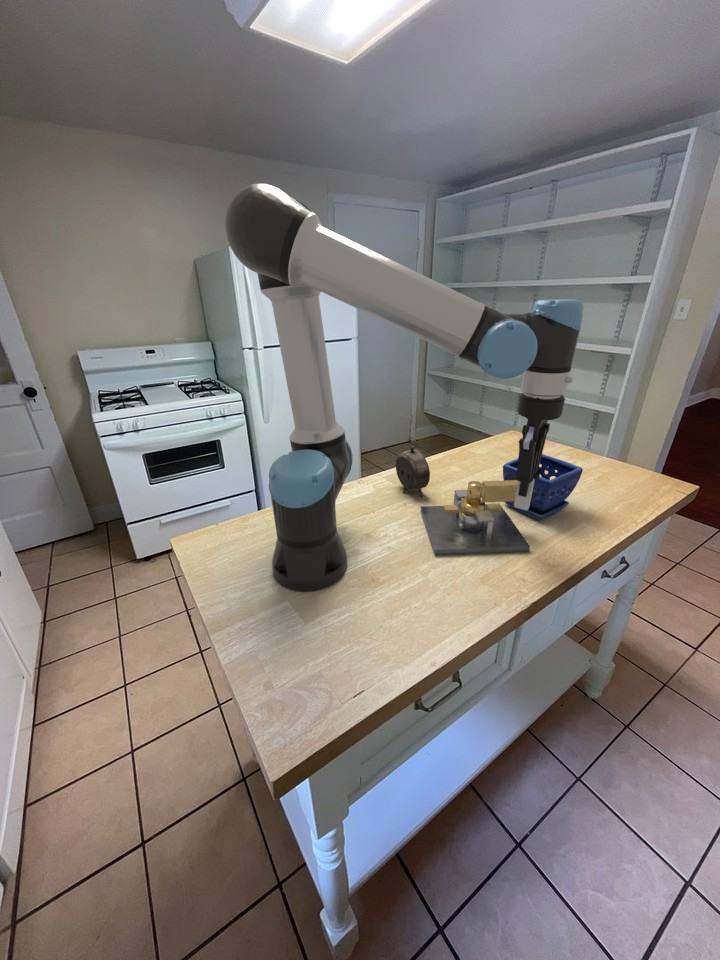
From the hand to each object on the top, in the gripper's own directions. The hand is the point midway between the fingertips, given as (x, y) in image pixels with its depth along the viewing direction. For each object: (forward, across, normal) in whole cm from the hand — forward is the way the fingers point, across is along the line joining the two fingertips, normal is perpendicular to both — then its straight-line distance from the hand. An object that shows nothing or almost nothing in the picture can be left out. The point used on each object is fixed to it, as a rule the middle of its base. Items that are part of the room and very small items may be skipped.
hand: (521, 507), depth 79 cm
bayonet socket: (+9, 0, +10) cm, 14 cm away
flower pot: (+10, +19, 0) cm, 21 cm away
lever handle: (+4, +1, +8) cm, 9 cm away
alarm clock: (+10, +9, +31) cm, 34 cm away
